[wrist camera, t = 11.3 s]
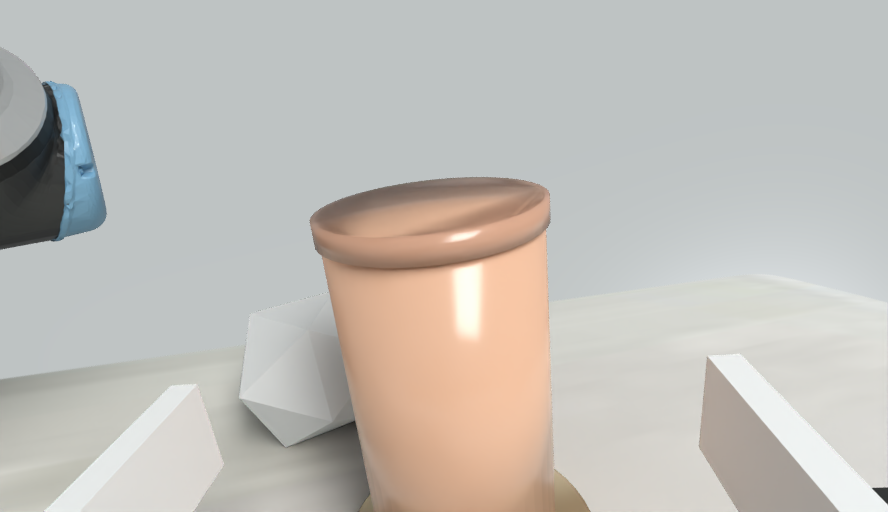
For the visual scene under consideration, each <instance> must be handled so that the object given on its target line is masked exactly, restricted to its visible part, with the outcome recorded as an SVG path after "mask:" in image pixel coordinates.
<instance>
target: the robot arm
mask: <svg viewBox="0 0 888 512" xmlns="http://www.w3.org/2000/svg"><path fill="white" fill-rule="evenodd" d="M106 214H107V213H106V206H105V201H104V197H103V192H102V189H101V184H100V180H99V176H98V171H97V167H96V163H95V160H94V155H93V151H92V147H91V143H90V139H89V135H88V132H87V128H86V124H85V120H84V116H83V112H82V108H81V104H80V101H79V97H78V94H77V92H76V90H75V89H74V88H73V87H71V86H69V85H67V84H57V83H54V82H52V81H50V82H43V83H41V82H40V80H39V79H38V77H37V76H36V75H35V73H34V72H33V70H32V69H31V68H30V67H29V66H28V65H27V64H26V63H25V62H24V61H22V60H21V59H19V58H18V57H17V56H15V55H14V54H12V53H10V52H9V51H7V50H5V49H3V48H1V47H0V250H1V249H6V248H11V247H16V246H22V245H28V244H33V243H38V242H44V241H49V240H51V241H60V240H62V239H64V237H67V236H71V235H75V234H79V233H84V232H87V231H91V230H94V229H96V228H98V227H99V226H100V225H101V224H102V223H103V222H104V221H105V218H106ZM699 448H700V450H701V451H702V453H703V454H704V456H705V458H706V459H707V461H708V463H709V464H710V466H711V467H712V469H713V471H714V472H715V474H716V476H717V477H718V479H719V481H720V482H721V484H722V485H723V487H724V489H725V490H726V492H727V494H728V495H729V497H730V498H731V500H732V502H733V503H734V505H735V507H736V508H737V510H738V512H888V488H871V487H870V486H869V485H868V484H867V483H866V482H865V481H864V480H863V479H862V478H861V477H860V476H859V475H858V474H857V473H856V472H855V471H854V470H853V469H852V468H851V467H850V466H849V465H848V464H847V463H846V462H845V460H844V459H843V458H842V457H841V456H840V455H839V454H838V453H837V452H836V451H835V450H834V449H833V448H832V447H831V446H830V445H829V444H828V443H827V442H826V441H825V440H824V439H823V438H822V437H821V436H820V435H819V434H818V433H817V432H816V431H815V430H814V429H813V428H812V427H811V426H810V425H809V424H808V423H807V422H806V421H805V420H804V419H803V417H802V416H801V415H800V414H799V413H798V412H797V411H796V410H795V409H794V408H793V407H792V406H791V405H790V404H789V403H788V402H787V401H786V400H785V399H784V398H783V397H782V396H781V395H780V394H779V393H778V392H777V391H776V390H775V389H774V388H773V387H772V386H771V385H770V384H769V383H768V382H767V381H766V380H765V379H764V378H763V377H762V376H761V374H760V373H759V372H758V371H757V370H756V369H755V368H754V367H753V366H752V365H751V364H750V363H749V362H748V361H747V360H746V359H745V358H744V357H743V356H742V355H741V354H729V355H711V356H707V363H706V374H705V385H704V396H703V407H702V418H701V429H700V440H699ZM223 466H224V463H223V460H222V457H221V454H220V450H219V447H218V444H217V441H216V438H215V435H214V432H213V429H212V426H211V423H210V420H209V417H208V414H207V411H206V408H205V405H204V402H203V399H202V396H201V393H200V390H199V387H198V384H189V385H171V386H170V387H169V388H168V389H167V390H166V391H165V392H164V393H163V394H162V395H161V396H160V397H159V398H158V399H157V400H156V401H155V402H154V403H153V404H152V405H151V406H150V407H149V408H148V409H147V410H146V411H145V412H144V413H143V414H142V415H141V416H140V417H139V418H138V419H137V420H136V421H135V422H134V423H133V424H132V425H131V426H130V427H128V428H127V429H126V430H125V431H124V432H123V433H122V434H121V435H120V436H119V437H118V438H117V439H116V440H115V441H114V442H113V443H112V444H111V445H110V446H109V447H108V448H107V449H106V450H105V451H104V452H103V453H102V454H101V455H100V456H99V457H98V458H97V459H96V460H95V461H94V462H93V463H92V464H91V465H90V466H89V467H88V468H87V469H86V470H85V471H84V472H83V473H82V474H81V475H80V476H79V477H78V478H77V479H76V480H75V481H74V482H73V483H72V484H71V485H70V486H69V487H68V488H67V489H66V490H65V491H64V492H63V493H62V494H61V495H60V496H59V497H58V498H57V499H56V500H55V501H54V502H53V503H52V504H51V505H50V506H49V507H48V508H47V509H46V510H45V511H44V512H193V511H194V510H195V508H196V507H197V505H198V504H199V502H200V501H201V499H202V498H203V496H204V495H205V493H206V492H207V490H208V489H209V487H210V486H211V484H212V483H213V481H214V480H215V478H216V477H217V475H218V474H219V472H220V471H221V469H222V468H223Z"/></svg>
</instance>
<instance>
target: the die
mask: <svg viewBox="0 0 888 512" xmlns="http://www.w3.org/2000/svg"><path fill="white" fill-rule="evenodd" d="M239 398H240V400H241V401H242V402H243V403H244V404H245V405H246V406H247V407H248V408H249V409H250V410H251V411H252V412H253V413H254V414H255V415H256V417H257V418H258V419H259V420H260V421H261V422H262V423H263V424H264V425H265V426H266V427H267V428H268V429H269V430H270V431H271V432H272V434H273V435H274V436H275V437H276V438H277V439H278V440H279V441H280V442H281V443H282V444H283V445H284V446H285V447H289V446H291V445H294V444H297V443H299V442H302V441H304V440H307V439H310V438H312V437H315V436H317V435H320V434H322V433H325V432H328V431H330V430H333V429H335V428H338V427H340V426H343V425H346V424H348V423H351V422H353V421H355V416H354V411H353V406H352V401H351V396H350V392H349V387H348V382H347V377H346V372H345V367H344V362H343V357H342V352H341V347H340V343H339V338H338V333H337V328H336V323H335V318H334V313H333V308H332V303H331V298H330V294H329V292H327V293H323V294H319V295H316V296H312V297H308V298H305V299H301V300H297V301H294V302H290V303H286V304H283V305H279V306H275V307H271V308H268V309H265V310H260V311H257V312H253V313H250V316H249V324H248V331H247V338H246V346H245V353H244V360H243V368H242V375H241V382H240V392H239Z"/></svg>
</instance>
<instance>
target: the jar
mask: <svg viewBox="0 0 888 512" xmlns="http://www.w3.org/2000/svg"><path fill="white" fill-rule="evenodd" d="M549 224H550V194H549V192H548V190H547V189H546V188H544V187H542V186H541V185H539V184H535V183H532V182H528V181H524V180H518V179H509V178H496V177H495V178H493V177H465V178H447V179H436V180H426V181H418V182H411V183H405V184H398V185H393V186H388V187H383V188H378V189H374V190H370V191H366V192H362V193H358V194H355V195H352V196H348V197H345V198H342V199H340V200H337V201H335V202H332V203H330V204H328V205H326V206H324V207H323V208H321V209H319V210H318V211H316V212H315V213H314V214H313V215H312V216H311V218H310V226H311V230H312V235H313V240H314V245H315V249H316V250H317V252H318V253H319V254H320V255H322V259H323V264H324V269H325V273H326V279H327V283H328V289H329V294H330V298H331V303H332V308H333V313H334V318H335V323H336V328H337V333H338V338H339V343H340V347H341V352H342V357H343V362H344V367H345V372H346V377H347V382H348V387H349V392H350V396H351V401H352V406H353V411H354V416H355V421H356V426H357V431H358V436H359V441H360V445H361V450H362V455H363V460H364V465H365V470H366V475H367V480H368V485H369V490H370V494H371V499H372V504H373V509H374V512H556V510H555V480H554V451H553V421H552V391H551V362H550V332H549V302H548V274H547V243H546V229H547V228H548V226H549Z"/></svg>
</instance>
